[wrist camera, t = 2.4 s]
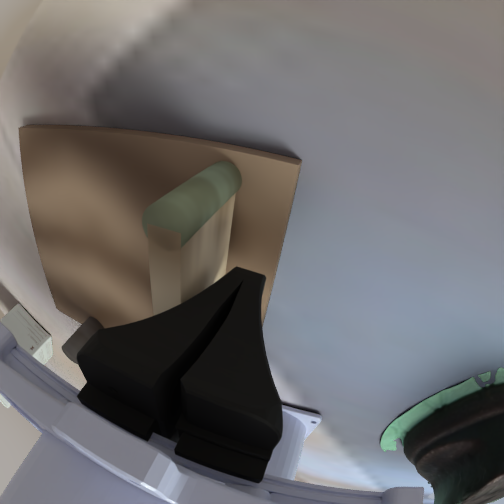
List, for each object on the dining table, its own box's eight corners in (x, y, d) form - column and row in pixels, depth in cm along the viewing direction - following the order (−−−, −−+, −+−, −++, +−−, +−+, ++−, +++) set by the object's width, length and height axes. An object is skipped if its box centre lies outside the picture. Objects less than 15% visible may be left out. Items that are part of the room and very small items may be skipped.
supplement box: (52, 335, 32) (-3, 398, 21) (53, 355, 36) (8, 410, 26) (18, 300, 31) (-38, 356, 21) (22, 324, 35) (-24, 374, 25)
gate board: (246, 385, 22) (226, 436, 18) (63, 303, 26) (32, 333, 22) (302, 160, 13) (278, 197, 8) (28, 124, 16) (-24, 144, 12)
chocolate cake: (515, 441, 19) (519, 500, 12) (378, 466, 27) (368, 530, 19) (583, 338, 11) (614, 421, 3) (388, 383, 19) (381, 501, 11)
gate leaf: (219, 377, 21) (193, 432, 17) (194, 367, 21) (165, 420, 17) (248, 166, 12) (194, 212, 8) (205, 157, 12) (136, 196, 8)
